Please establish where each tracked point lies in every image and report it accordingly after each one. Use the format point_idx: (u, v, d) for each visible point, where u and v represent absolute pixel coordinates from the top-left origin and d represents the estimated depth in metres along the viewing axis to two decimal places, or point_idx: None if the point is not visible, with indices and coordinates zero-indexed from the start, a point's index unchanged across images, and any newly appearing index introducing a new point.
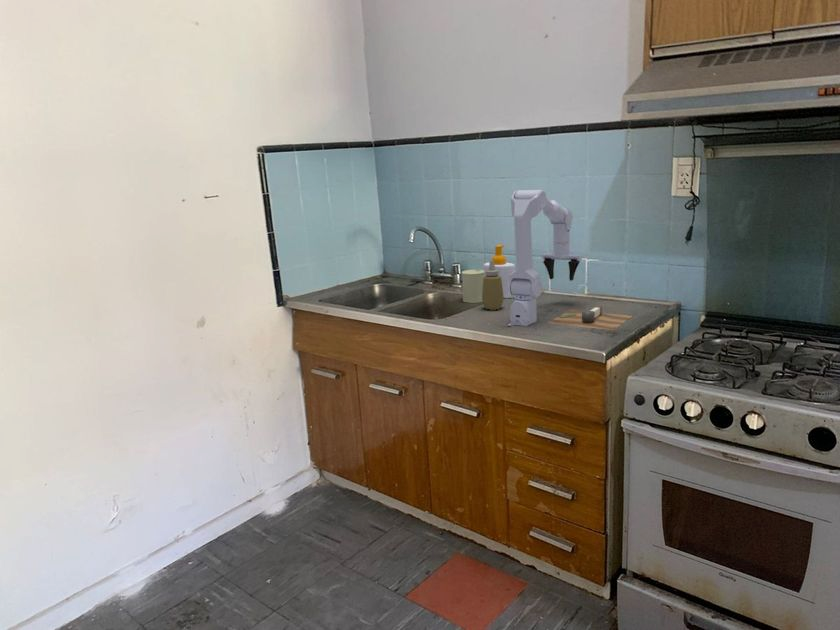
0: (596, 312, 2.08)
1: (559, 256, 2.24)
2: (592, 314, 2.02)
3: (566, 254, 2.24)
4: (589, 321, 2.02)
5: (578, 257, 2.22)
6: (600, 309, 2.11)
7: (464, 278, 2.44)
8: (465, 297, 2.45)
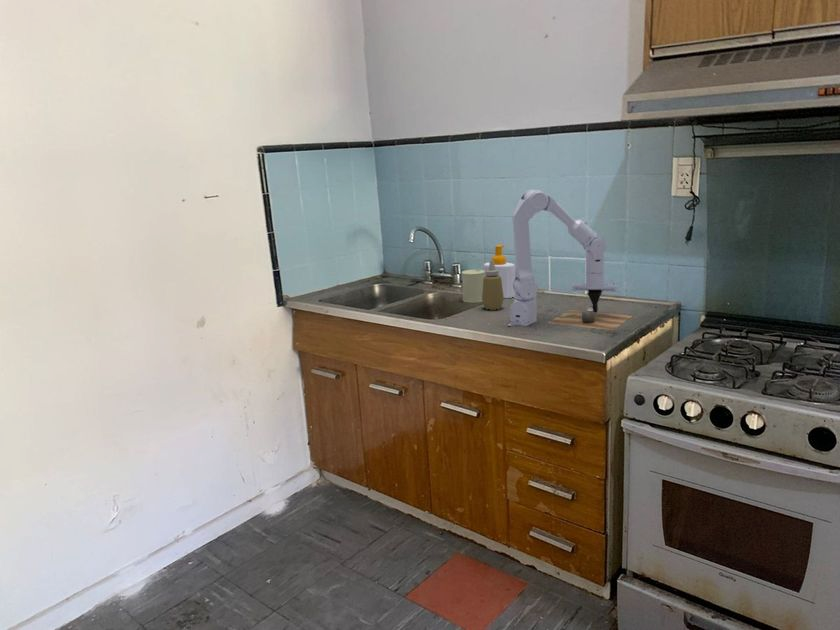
0: None
1: (594, 287, 2.06)
2: (593, 314, 2.02)
3: (601, 285, 2.06)
4: (590, 321, 2.02)
5: (615, 288, 2.05)
6: None
7: (464, 278, 2.44)
8: (465, 297, 2.45)
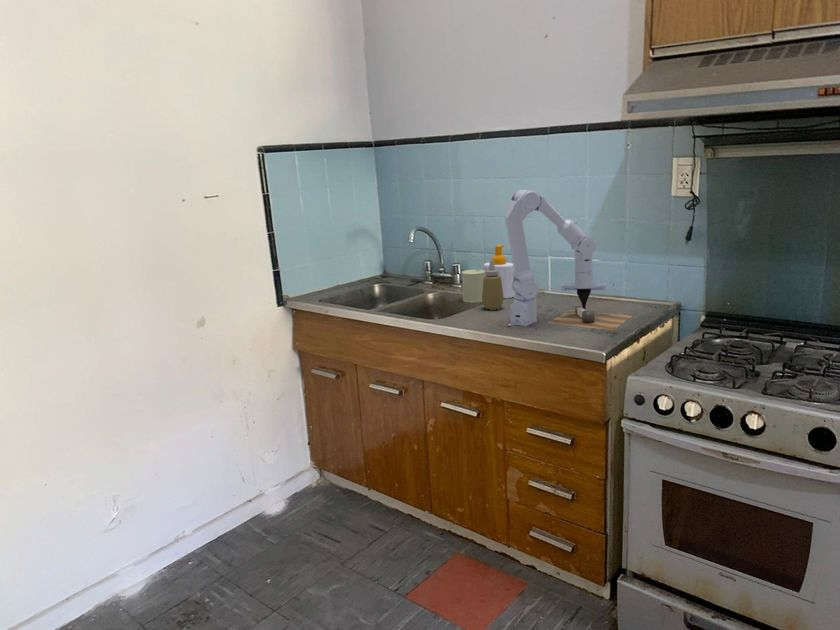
0: None
1: (584, 287, 2.08)
2: (594, 313, 2.03)
3: (591, 284, 2.08)
4: (593, 320, 2.03)
5: (604, 286, 2.08)
6: None
7: (464, 278, 2.44)
8: (465, 297, 2.45)
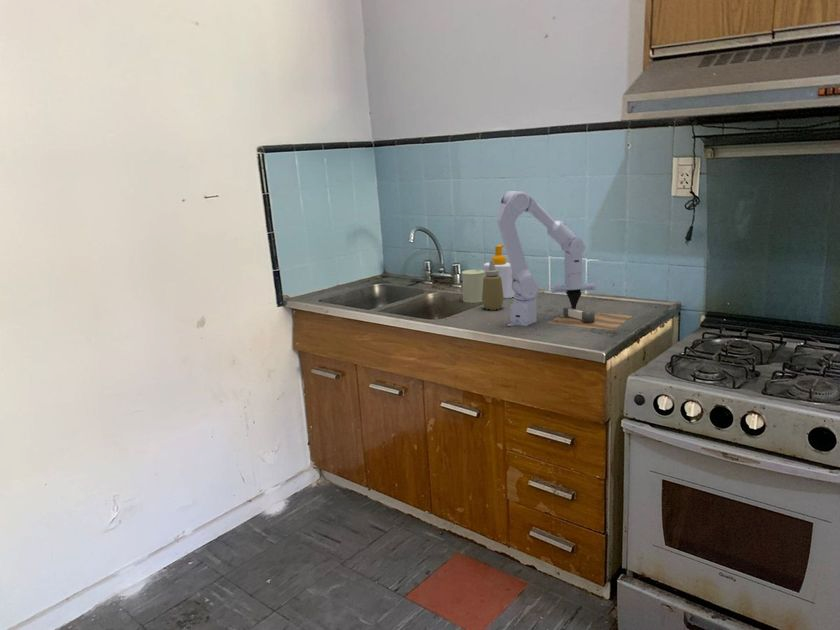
0: None
1: (576, 287, 2.07)
2: None
3: (581, 284, 2.09)
4: (594, 320, 2.03)
5: (594, 286, 2.09)
6: None
7: (464, 278, 2.44)
8: (465, 297, 2.45)
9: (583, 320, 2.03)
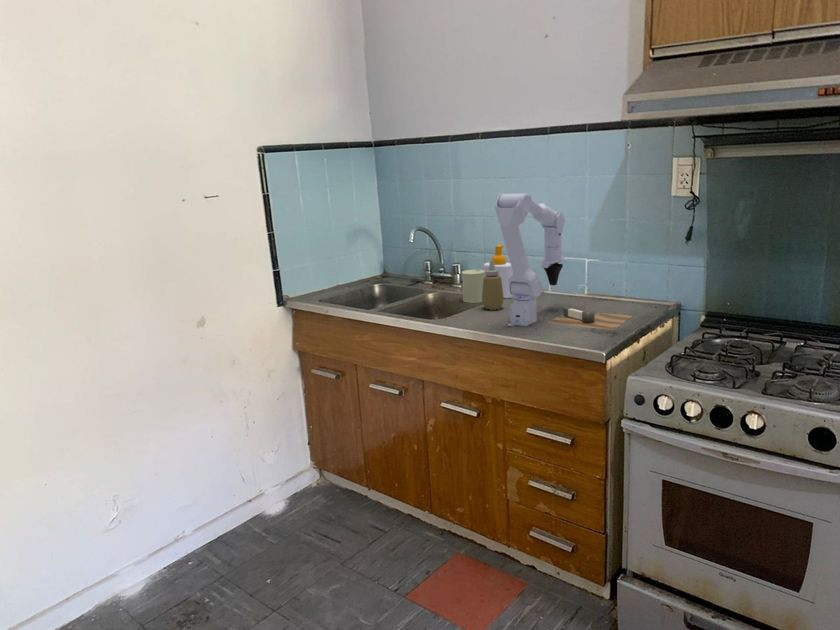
0: None
1: None
2: None
3: (546, 259, 2.17)
4: (594, 320, 2.03)
5: None
6: None
7: (464, 278, 2.44)
8: (465, 297, 2.45)
9: (583, 320, 2.03)
